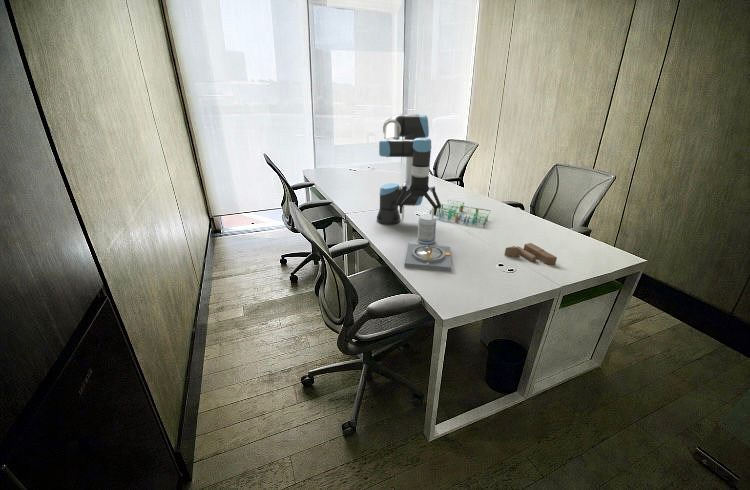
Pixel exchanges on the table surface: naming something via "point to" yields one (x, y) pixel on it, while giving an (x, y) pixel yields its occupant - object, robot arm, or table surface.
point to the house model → (461, 214)
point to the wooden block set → (531, 253)
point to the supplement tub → (426, 229)
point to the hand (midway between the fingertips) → (417, 220)
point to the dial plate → (434, 264)
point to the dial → (428, 252)
